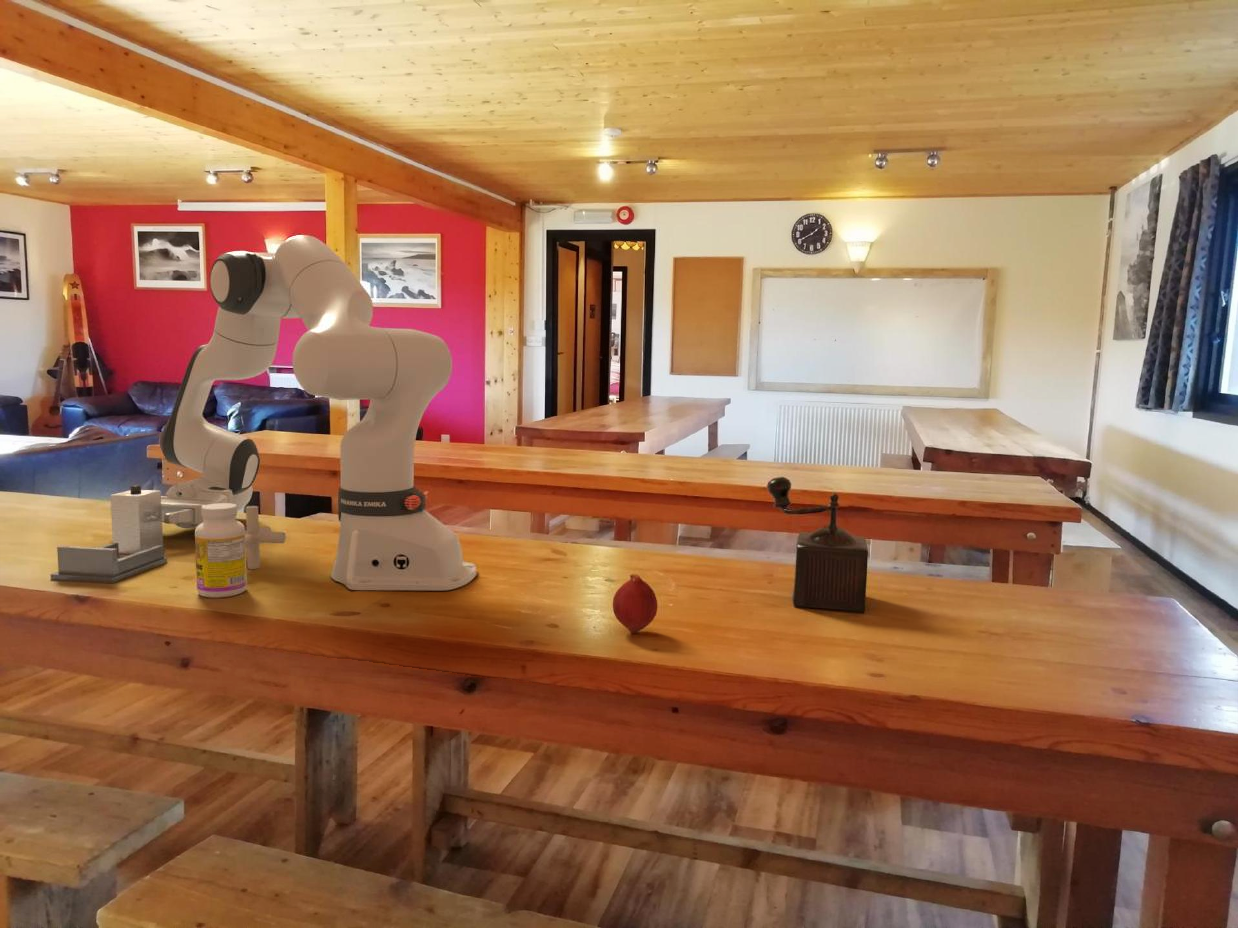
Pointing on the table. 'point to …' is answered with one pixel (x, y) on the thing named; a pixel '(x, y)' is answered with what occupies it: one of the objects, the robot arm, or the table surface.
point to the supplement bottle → (220, 552)
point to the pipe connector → (258, 537)
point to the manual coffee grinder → (825, 560)
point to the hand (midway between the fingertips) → (142, 517)
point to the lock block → (136, 519)
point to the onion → (635, 604)
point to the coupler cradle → (104, 563)
